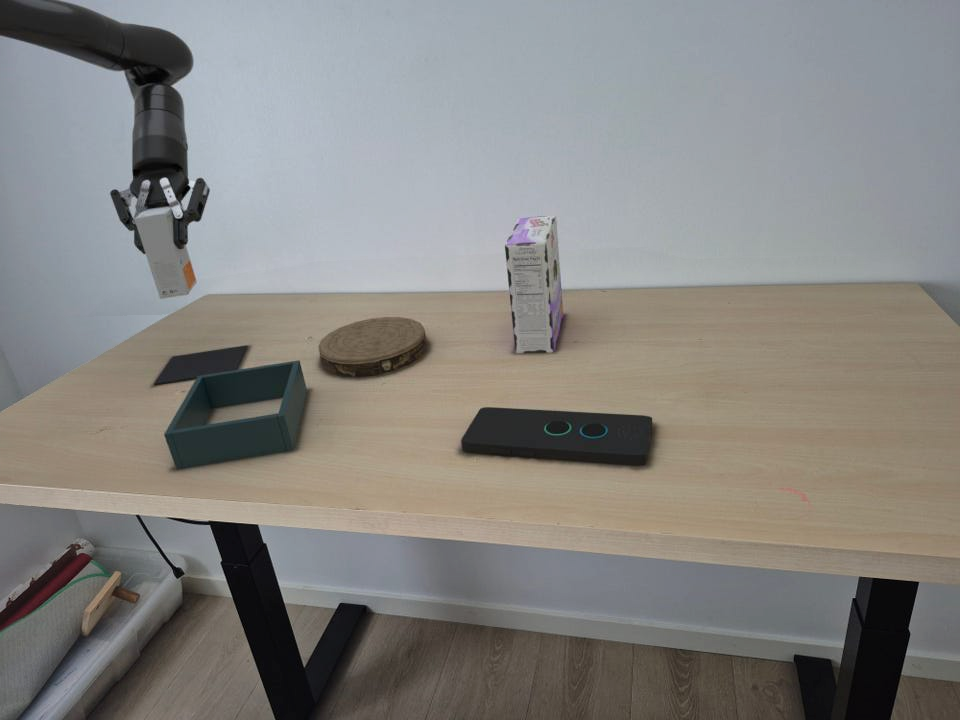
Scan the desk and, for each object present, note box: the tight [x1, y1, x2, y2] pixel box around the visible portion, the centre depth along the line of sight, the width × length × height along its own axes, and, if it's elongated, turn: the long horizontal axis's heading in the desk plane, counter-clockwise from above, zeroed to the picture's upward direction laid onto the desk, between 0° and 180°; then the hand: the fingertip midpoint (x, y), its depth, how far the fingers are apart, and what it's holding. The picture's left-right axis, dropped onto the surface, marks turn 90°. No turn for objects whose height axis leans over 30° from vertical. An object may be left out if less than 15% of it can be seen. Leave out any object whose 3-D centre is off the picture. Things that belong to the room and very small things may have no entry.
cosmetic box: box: [135, 206, 197, 300], centre depth 101 cm, size 6×4×12 cm
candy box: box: [504, 215, 564, 354], centre depth 101 cm, size 14×6×16 cm, turn 168°
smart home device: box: [460, 406, 653, 467], centre depth 77 cm, size 8×2×20 cm
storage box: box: [163, 359, 308, 470], centre depth 87 cm, size 14×16×5 cm
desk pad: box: [153, 345, 248, 386], centre depth 109 cm, size 12×10×1 cm
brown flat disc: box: [317, 316, 428, 379], centre depth 104 cm, size 16×16×3 cm
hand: (161, 248), depth 99 cm, fingers closed on cosmetic box, 4 cm apart
